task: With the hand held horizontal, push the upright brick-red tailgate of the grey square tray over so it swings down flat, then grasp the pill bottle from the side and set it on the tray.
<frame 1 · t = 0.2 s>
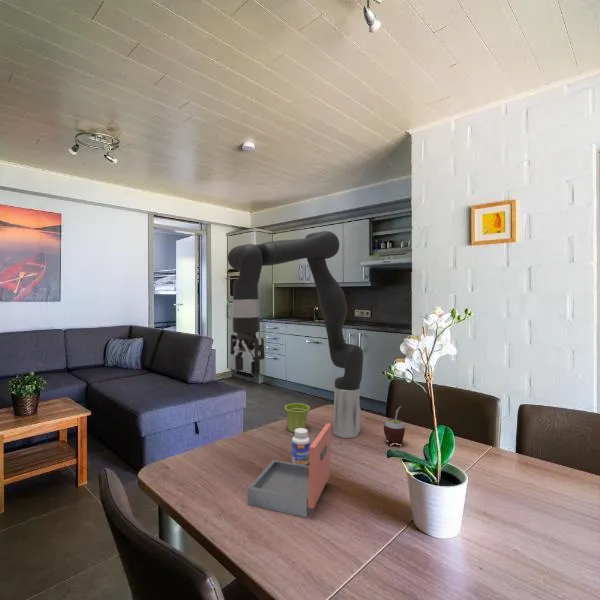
hand: (246, 372, 102), 29 cm above the table, tool pointing down, fingers open, 8 cm apart
tailgate: (321, 462, 89), point 9 cm above the table, hinge at 0.0°
grey square tray: (287, 493, 92), on the table
pill bottle: (300, 462, 110), on the table
mate gourd: (394, 445, 124), on the table
plant pot: (296, 430, 135), on the table
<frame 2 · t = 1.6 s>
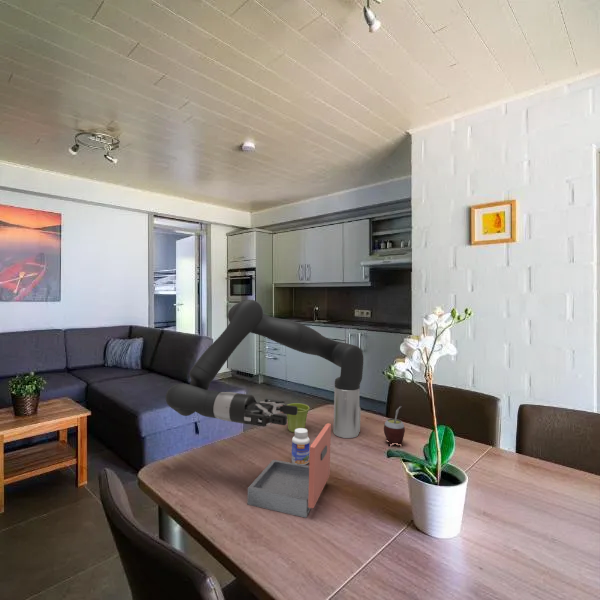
hand: (292, 415, 92), 20 cm above the table, tool horizontal, fingers open, 7 cm apart
nothing on the table moved.
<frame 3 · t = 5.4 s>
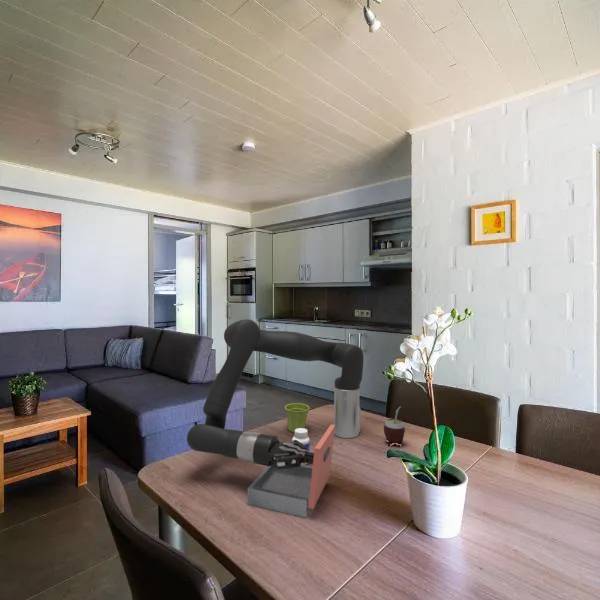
hand: (320, 459, 89), 10 cm above the table, tool horizontal, fingers closed
tailgate: (323, 463, 89), point 9 cm above the table, hinge at 4.9°, touching gripper
everything else where it was.
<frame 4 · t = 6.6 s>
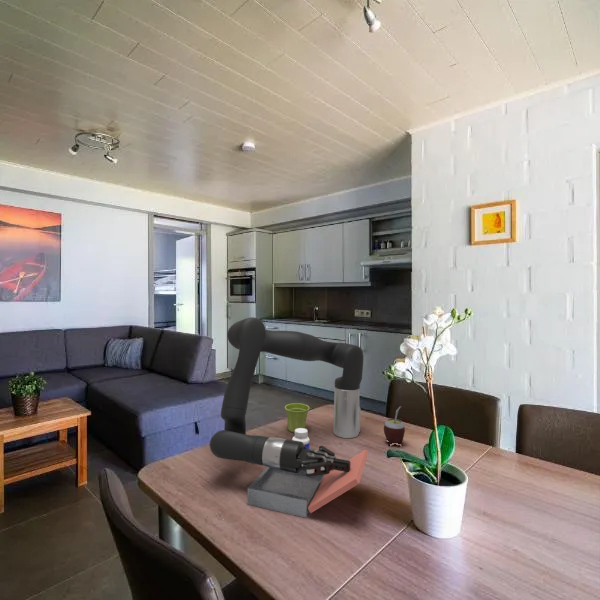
hand: (349, 466, 87), 10 cm above the table, tool horizontal, fingers closed
tailgate: (340, 479, 88), point 6 cm above the table, hinge at 50.5°
everything else where it was.
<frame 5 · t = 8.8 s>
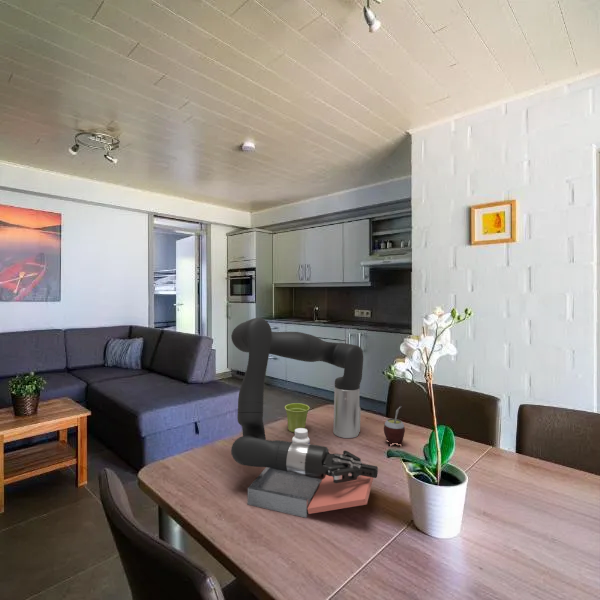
hand: (377, 472, 85), 10 cm above the table, tool horizontal, fingers closed
tailgate: (343, 489, 88), point 4 cm above the table, hinge at 69.1°
everything else where it was.
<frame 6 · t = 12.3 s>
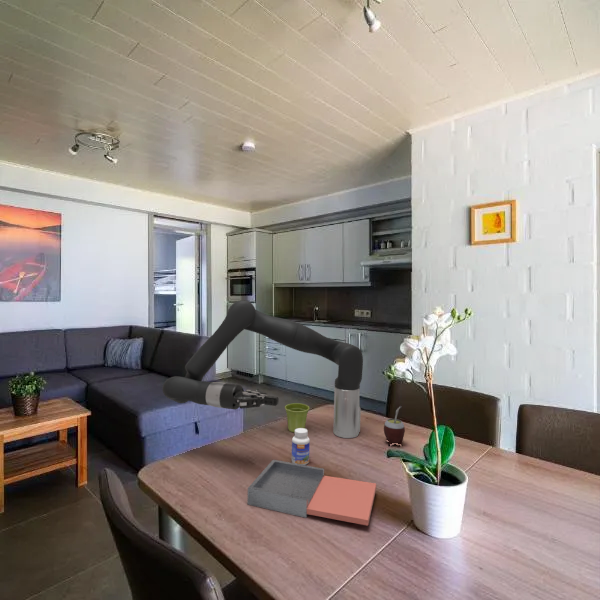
hand: (277, 401, 104), 20 cm above the table, tool horizontal, fingers closed
tailgate: (343, 498, 88), point 2 cm above the table, hinge at 88.1°, touching grey square tray
everything else where it was.
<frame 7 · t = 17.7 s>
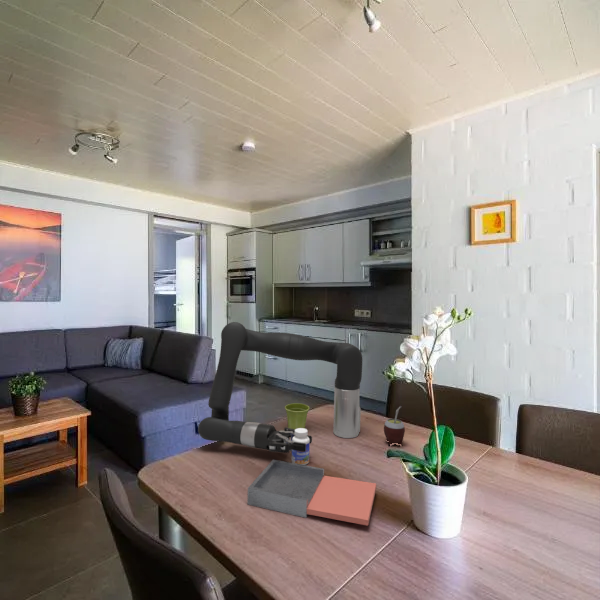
hand: (308, 443, 109), 6 cm above the table, tool horizontal, fingers closed on pill bottle, 5 cm apart
pill bottle: (300, 462, 110), on the table, touching gripper
everything else where it was.
when the fingers open (10 cm above the table, at t = 22.8 s): pill bottle drops 1 cm, resting on grey square tray.
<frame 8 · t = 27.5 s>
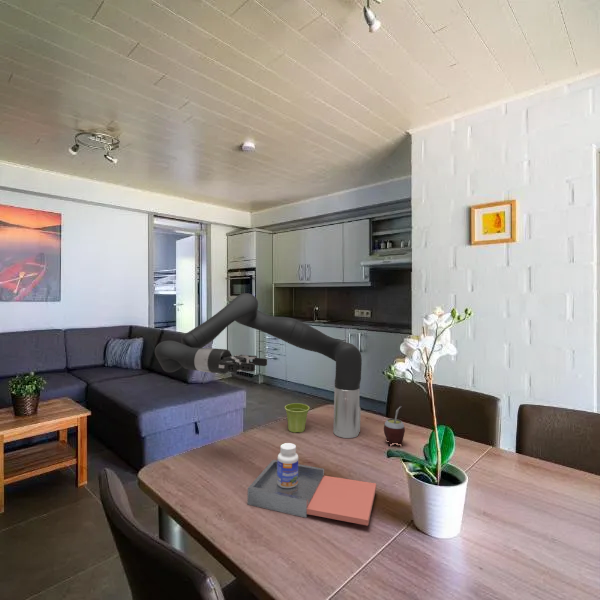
hand: (260, 365, 106), 30 cm above the table, tool horizontal, fingers open, 8 cm apart
pill bottle: (287, 484, 92), point 2 cm above the table, touching grey square tray
everything else where it was.
at the end: tailgate at +88° (first picture: +0°); pill bottle 0.1 cm from the grey square tray (horizontally); pill bottle tilted 0° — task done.
